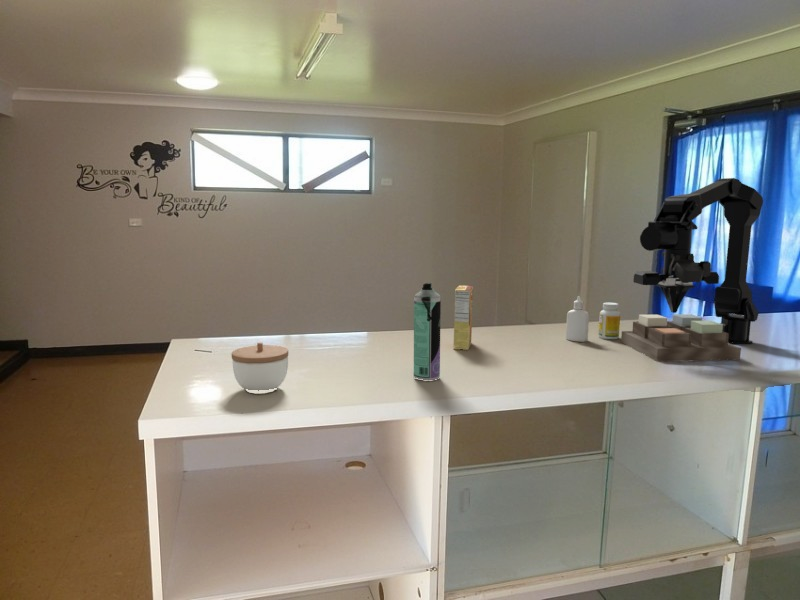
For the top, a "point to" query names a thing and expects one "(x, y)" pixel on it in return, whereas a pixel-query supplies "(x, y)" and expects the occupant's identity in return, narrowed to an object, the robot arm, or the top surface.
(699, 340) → the stepped wooden stand
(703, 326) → the cap sage
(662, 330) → the cap terracotta
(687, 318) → the cap slate
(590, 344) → the top surface
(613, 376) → the top surface
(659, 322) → the cap cream
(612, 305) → the supplement bottle
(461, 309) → the candy box
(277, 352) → the lidded jar
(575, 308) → the eye dropper bottle
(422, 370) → the spray can
